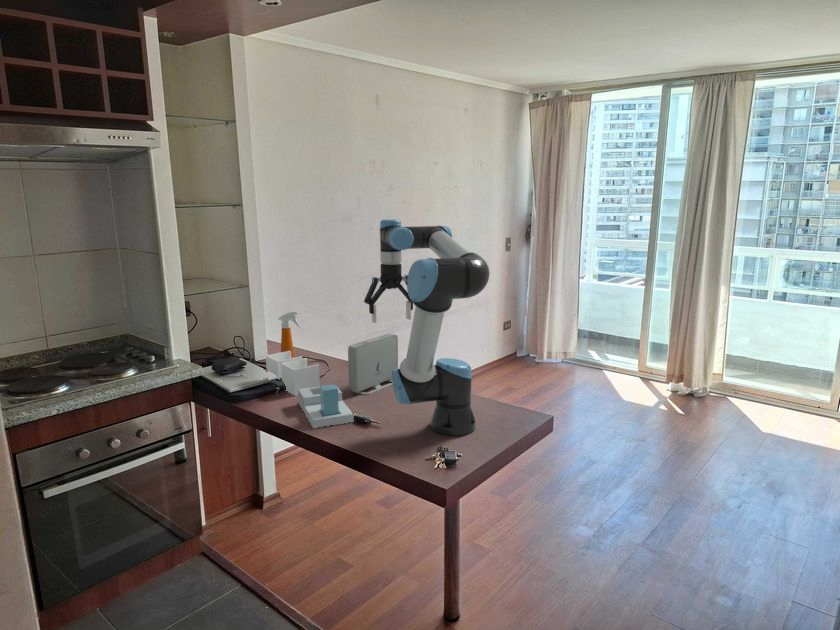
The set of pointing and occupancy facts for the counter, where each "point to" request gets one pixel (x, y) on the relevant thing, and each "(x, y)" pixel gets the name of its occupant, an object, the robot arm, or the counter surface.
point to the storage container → (293, 371)
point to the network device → (372, 363)
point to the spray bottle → (288, 332)
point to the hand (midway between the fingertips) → (391, 320)
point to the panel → (312, 408)
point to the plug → (329, 400)
